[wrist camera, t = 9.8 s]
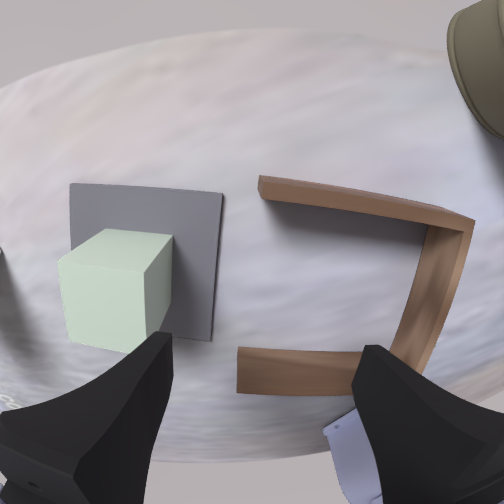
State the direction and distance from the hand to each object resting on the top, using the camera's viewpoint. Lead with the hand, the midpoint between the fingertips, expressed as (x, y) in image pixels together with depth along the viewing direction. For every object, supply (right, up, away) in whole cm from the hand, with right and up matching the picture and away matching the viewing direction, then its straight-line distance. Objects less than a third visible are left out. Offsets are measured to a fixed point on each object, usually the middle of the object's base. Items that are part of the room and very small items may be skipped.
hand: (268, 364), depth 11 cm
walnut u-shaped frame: (+5, +2, +9) cm, 11 cm away
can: (+19, +19, +5) cm, 27 cm away
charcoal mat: (-8, +3, +8) cm, 12 cm away
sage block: (-8, +3, +8) cm, 12 cm away
